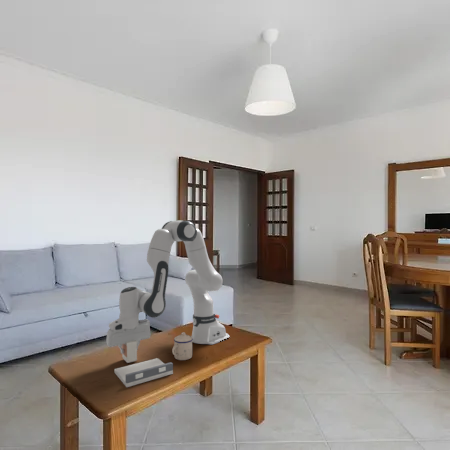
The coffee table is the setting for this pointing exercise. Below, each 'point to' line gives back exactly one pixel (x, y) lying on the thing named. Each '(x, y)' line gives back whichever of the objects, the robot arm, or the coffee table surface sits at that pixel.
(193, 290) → the robot arm
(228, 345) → the coffee table surface
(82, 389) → the coffee table surface
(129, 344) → the product carton
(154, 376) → the shelf board
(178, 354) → the teacup with lid
